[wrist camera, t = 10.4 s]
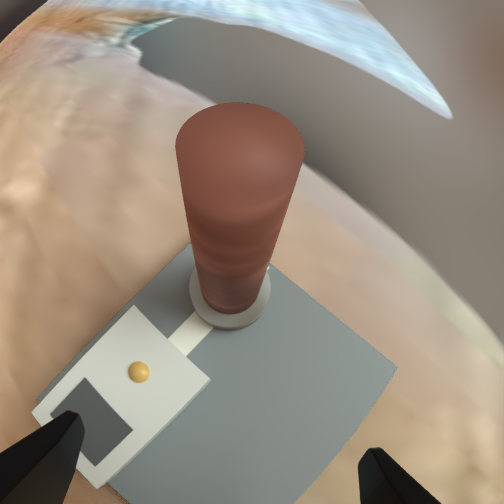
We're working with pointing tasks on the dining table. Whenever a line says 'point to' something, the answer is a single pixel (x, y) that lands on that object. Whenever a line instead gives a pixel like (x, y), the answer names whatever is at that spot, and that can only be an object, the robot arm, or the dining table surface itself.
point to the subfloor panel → (250, 397)
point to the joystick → (235, 205)
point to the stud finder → (123, 394)
